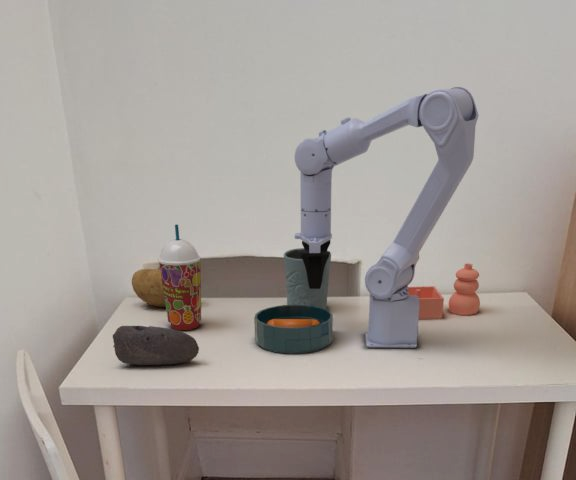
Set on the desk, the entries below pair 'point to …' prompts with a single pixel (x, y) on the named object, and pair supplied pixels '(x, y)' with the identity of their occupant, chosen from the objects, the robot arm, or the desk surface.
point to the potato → (149, 286)
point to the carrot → (293, 322)
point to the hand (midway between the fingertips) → (315, 283)
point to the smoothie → (181, 283)
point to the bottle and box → (459, 302)
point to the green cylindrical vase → (304, 281)
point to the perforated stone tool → (153, 345)
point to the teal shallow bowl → (293, 329)
